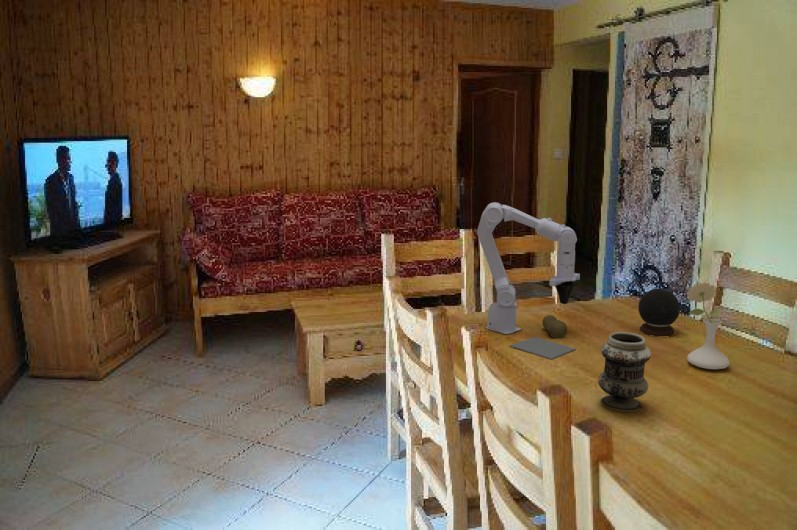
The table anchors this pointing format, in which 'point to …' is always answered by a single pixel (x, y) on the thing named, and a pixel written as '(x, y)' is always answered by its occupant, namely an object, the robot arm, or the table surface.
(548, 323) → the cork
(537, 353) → the topple mat
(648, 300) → the black ball on stand
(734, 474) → the table surface
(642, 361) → the apothecary jar
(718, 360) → the flower in vase
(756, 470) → the table surface
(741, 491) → the table surface
